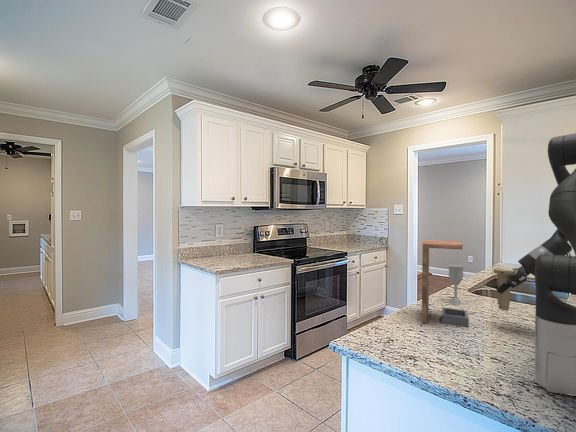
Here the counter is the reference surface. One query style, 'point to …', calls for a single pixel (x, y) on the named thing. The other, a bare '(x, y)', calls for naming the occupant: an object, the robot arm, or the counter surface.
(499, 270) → the tan headed rod
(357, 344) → the counter surface
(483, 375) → the counter surface
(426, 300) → the wooden l-shaped bracket
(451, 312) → the socket
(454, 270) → the chalice
